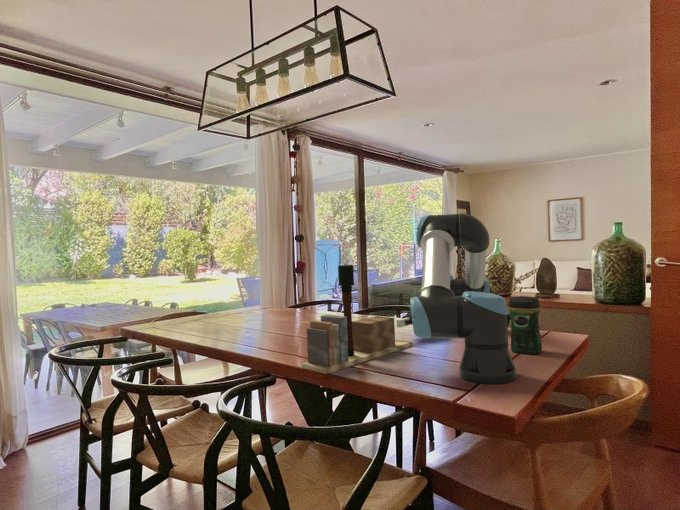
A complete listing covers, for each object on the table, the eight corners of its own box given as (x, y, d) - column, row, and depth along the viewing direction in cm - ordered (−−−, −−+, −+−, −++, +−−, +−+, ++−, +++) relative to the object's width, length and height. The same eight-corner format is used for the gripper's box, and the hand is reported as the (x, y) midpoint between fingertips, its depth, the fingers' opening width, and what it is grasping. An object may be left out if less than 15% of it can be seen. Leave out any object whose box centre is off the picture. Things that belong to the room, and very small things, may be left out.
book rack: (388, 341, 171) (387, 302, 171) (412, 345, 164) (410, 303, 163) (301, 368, 140) (299, 319, 140) (325, 374, 132) (323, 322, 132)
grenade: (360, 353, 149) (356, 264, 148) (353, 358, 144) (349, 265, 143) (345, 352, 151) (341, 264, 151) (337, 356, 146) (334, 266, 146)
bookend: (378, 342, 164) (377, 315, 164) (395, 345, 159) (394, 317, 158) (352, 350, 154) (351, 321, 154) (369, 353, 149) (368, 323, 148)
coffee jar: (544, 350, 149) (542, 295, 148) (537, 356, 142) (535, 298, 142) (515, 347, 155) (513, 294, 154) (507, 352, 149) (505, 297, 148)
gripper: (446, 325, 179) (412, 335, 162) (419, 322, 188) (385, 331, 171) (446, 306, 179) (412, 315, 162) (419, 304, 188) (384, 312, 171)
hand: (398, 323), depth 167 cm, fingers closed
